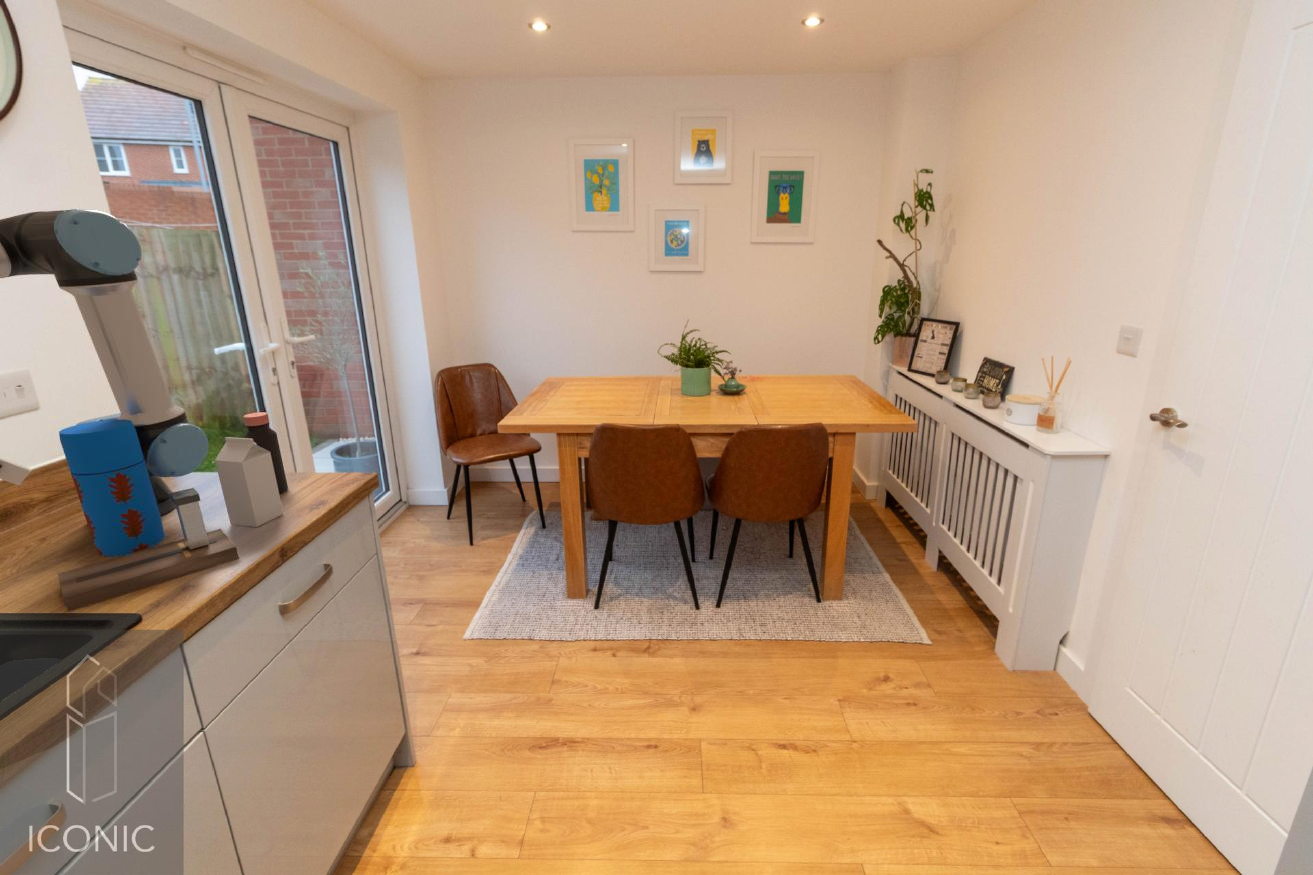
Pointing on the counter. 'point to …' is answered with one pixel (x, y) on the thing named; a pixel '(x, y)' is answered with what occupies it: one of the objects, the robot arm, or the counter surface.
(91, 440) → the thermos
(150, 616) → the counter surface
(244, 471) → the milk carton
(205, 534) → the fader handle
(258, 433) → the bottle
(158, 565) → the console
